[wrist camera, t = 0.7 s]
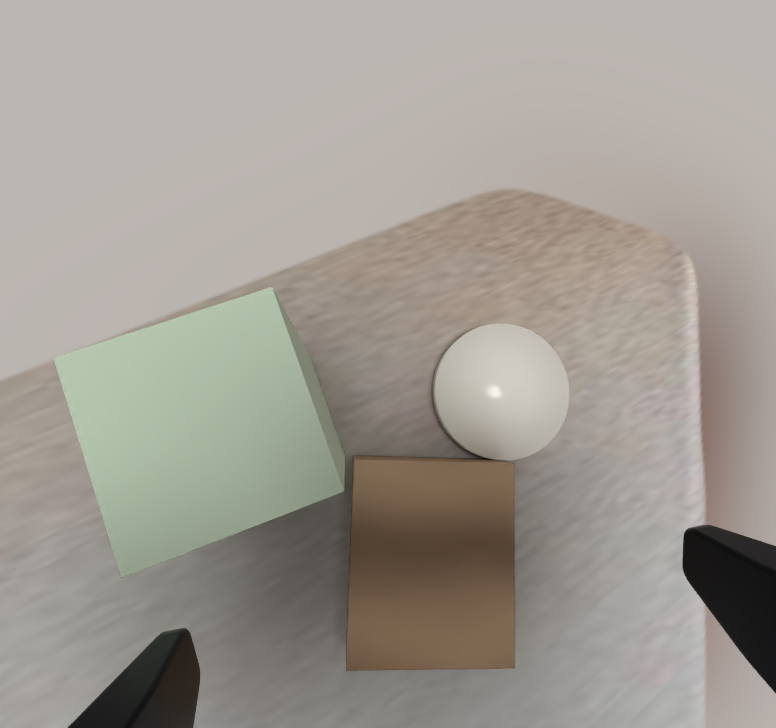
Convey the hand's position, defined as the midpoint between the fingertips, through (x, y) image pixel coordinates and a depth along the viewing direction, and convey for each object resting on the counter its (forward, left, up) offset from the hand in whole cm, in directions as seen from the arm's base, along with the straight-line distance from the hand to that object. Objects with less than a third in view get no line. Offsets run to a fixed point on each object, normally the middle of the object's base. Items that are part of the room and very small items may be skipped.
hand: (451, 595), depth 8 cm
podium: (-3, -2, -16) cm, 16 cm away
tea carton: (+3, +5, -16) cm, 17 cm away
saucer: (+5, -6, -16) cm, 18 cm away
